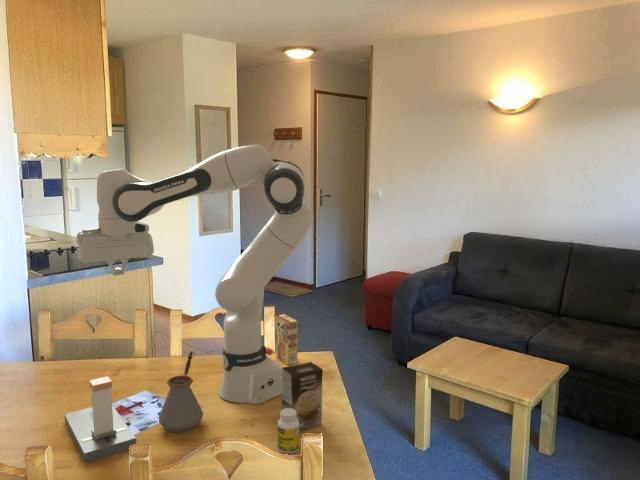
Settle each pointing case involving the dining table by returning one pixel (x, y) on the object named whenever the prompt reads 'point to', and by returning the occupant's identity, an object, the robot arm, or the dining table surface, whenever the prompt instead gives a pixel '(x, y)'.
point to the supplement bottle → (288, 431)
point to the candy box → (286, 338)
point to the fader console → (96, 449)
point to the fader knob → (102, 407)
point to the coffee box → (303, 393)
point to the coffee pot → (181, 404)
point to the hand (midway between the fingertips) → (118, 274)
